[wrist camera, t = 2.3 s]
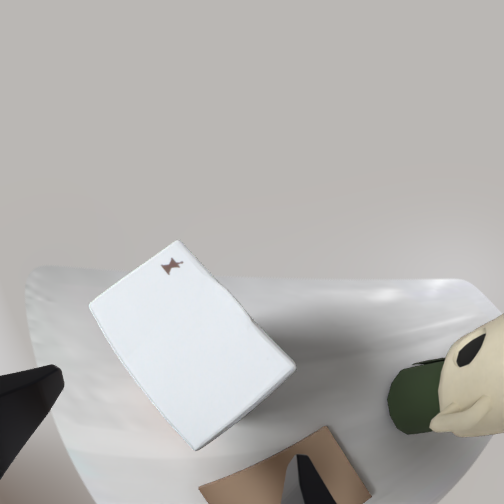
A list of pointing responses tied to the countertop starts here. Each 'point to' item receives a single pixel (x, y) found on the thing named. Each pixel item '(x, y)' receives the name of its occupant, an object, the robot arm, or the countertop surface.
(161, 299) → the skincare box
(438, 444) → the countertop surface
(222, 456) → the countertop surface
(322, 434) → the curved brown sheet
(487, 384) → the character mug
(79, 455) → the countertop surface
